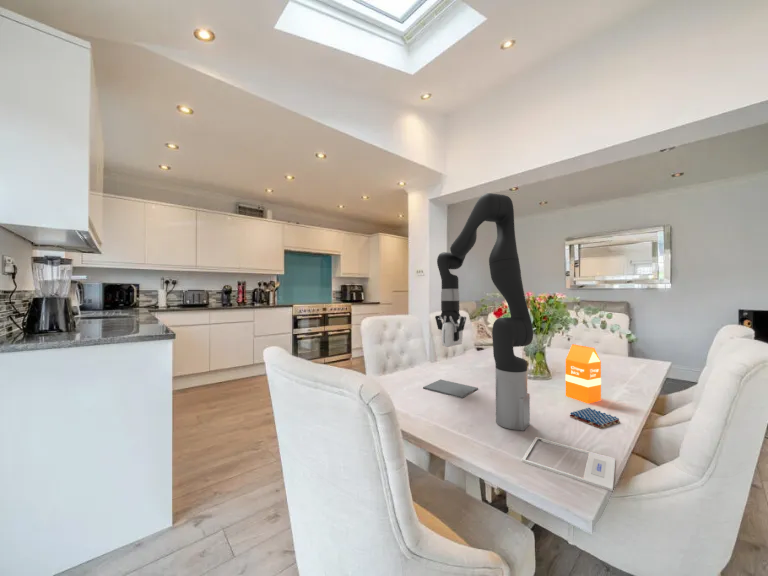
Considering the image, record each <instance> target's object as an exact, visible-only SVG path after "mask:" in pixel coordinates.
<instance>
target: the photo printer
mask: <svg viewBox="0 0 768 576" xmlns="http://www.w3.org/2000/svg"><path fill="white" fill-rule="evenodd" d="M459 323H460V320H458V324H459ZM442 324H443V323H442ZM455 324H456V323H455ZM463 333H464V329H463V330H462V331H460V332H459V340H458V341H454V327H453V324H452V323H451V322H447V323H444V324H443V328H442V330H441V343H442V346H443V347H447V348H448V347H453V346H458V345H462V343H463V336H464V335H463Z"/></svg>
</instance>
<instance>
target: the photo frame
mask: <svg viewBox="0 0 768 576" xmlns="http://www.w3.org/2000/svg"><path fill="white" fill-rule="evenodd" d="M538 440H539V441H541V442H544V443H547V444H551V445H553V446H554V445H555V446H558V447H561V448H565V449H568V450H572V451H574V452H575V451H576V452H579V453H583V454H586V455H588V457H587V460H586V464H585V469H584V473H583V477H581V476H579V475H575V474H572V473H568V472H565V471H563V470H559V469H556V468H553V467H550V466H547V465H545V464H541V463H537V462H535V461H531V460H528V459H527V458H528V456H529V454H530V453H531V451H532V450H533V447H534V446H535V444H536V442H537V441H538ZM521 462H522V463H525V464H527V465H531V466H533V467H537V468H540V469H543V470H546V471H549V472H552V473H555V474H559V475H561V476H564V477H567V478H570V479H573V480H576V481H580V482H583V483H586V484H589V485H592V486H595V487H598V486H599V487H598V488H601V487H603V488H602V489H604V488H606V489H605V490H607V489H608V490H607V491H611V492H613V491H614V479H615V471H616V470H615V469H616V468H615V467H616V458H614V457H611V456H608V455H603V454H600V453H598V452H597V453H596V452H592V451H589V450H585V449H582V448H578V447H575V446H570V445H569V444H568V445H567V444H564V443H560V442H556V441H552V440H549V439H545V438H541V437H537V436H535V438H534V439H533V441H532V443H531V444H530V446H529V447H528V449H527V450H526V451H525V453H524V455H523V457H522V458H521Z"/></svg>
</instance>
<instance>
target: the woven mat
mask: <svg viewBox="0 0 768 576" xmlns="http://www.w3.org/2000/svg"><path fill="white" fill-rule="evenodd" d="M569 417H570V418H572V419H574V420H577V421H579V422H582V423H584V424H587V425H589V426H593V427H594V428H597V429H600V430H603V429H604V428H606V429H607V428H608V427H611V426H613V425H618V424H620V423H621V421H620V419H619V417H617V416H612V415H611V414H606V412H601V411H600V410H599V411H598V410H596V409H592V408H591V407H585V408H582V409H579V410H576V411H574V410H573V412H571V411H570V414H569Z"/></svg>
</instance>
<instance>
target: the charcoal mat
mask: <svg viewBox="0 0 768 576" xmlns="http://www.w3.org/2000/svg"><path fill="white" fill-rule="evenodd" d="M422 389H423V390H424V389H425V390H428V391H432V392H437V393H440V394H444V395H448V396H452V397H455V398H459V399H463V398H465V397H468V396H469V395H470V394H472V393H474V392H476V391H478V390H479V387H478V386H477V387H476V386H472V385H467V384H462V383H458V382H454V381H449V380H445V379H438V380H435V381H434V382H431V383H429V384H427V385H425V386H423V388H422Z"/></svg>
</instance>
